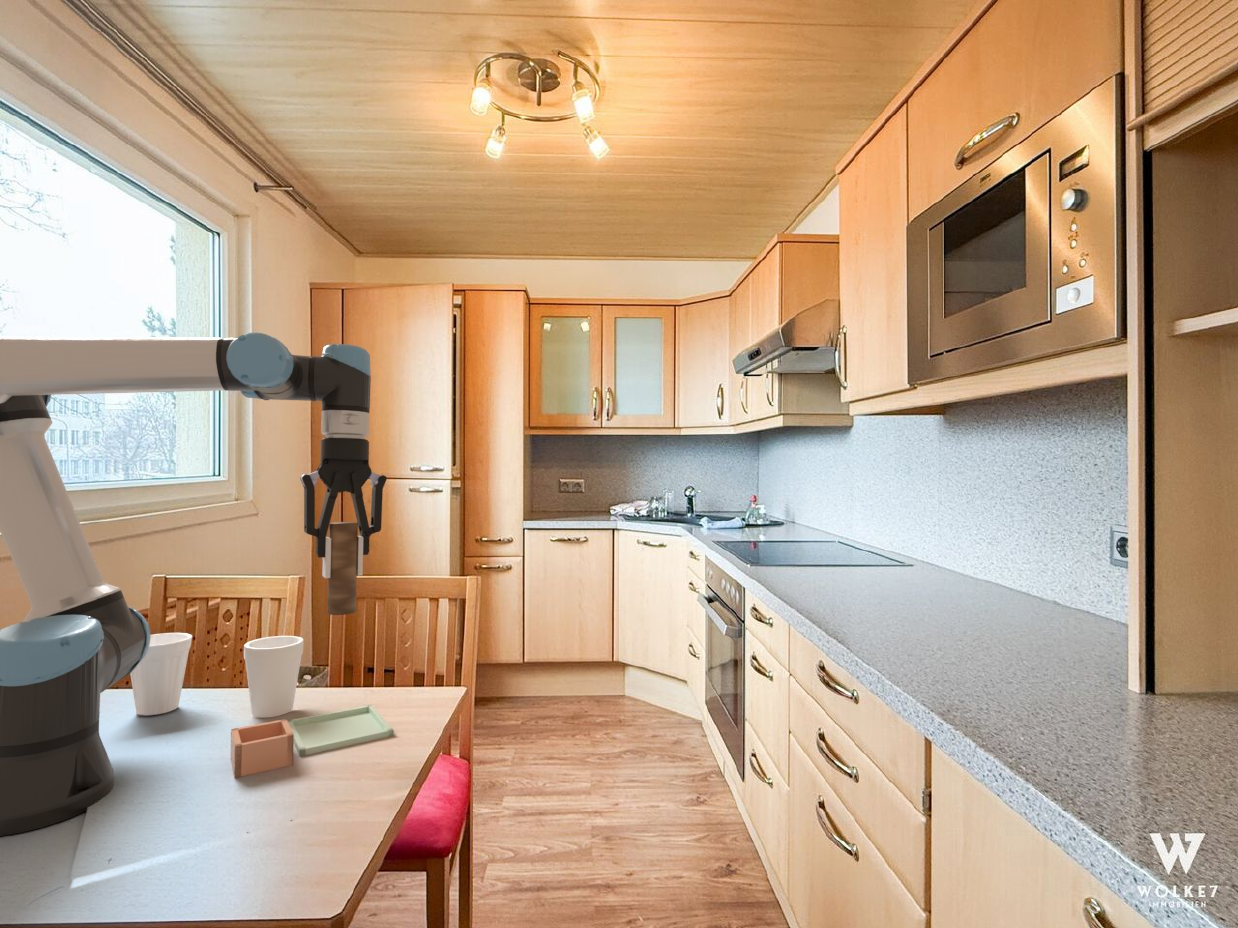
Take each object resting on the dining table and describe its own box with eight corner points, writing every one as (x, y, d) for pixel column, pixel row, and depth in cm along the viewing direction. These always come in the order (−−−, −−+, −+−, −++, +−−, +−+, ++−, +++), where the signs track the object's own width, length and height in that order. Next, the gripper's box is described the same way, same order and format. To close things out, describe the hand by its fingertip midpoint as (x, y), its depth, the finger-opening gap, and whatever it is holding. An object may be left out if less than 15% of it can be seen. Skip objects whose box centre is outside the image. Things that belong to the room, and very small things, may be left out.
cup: (164, 722, 110) (167, 646, 110) (108, 721, 110) (110, 645, 111) (203, 701, 120) (205, 632, 120) (151, 700, 120) (153, 631, 121)
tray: (299, 759, 96) (299, 749, 96) (286, 729, 108) (286, 720, 108) (393, 738, 104) (393, 729, 104) (371, 712, 116) (371, 704, 116)
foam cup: (275, 726, 109) (277, 650, 109) (229, 721, 111) (231, 647, 111) (312, 707, 118) (314, 637, 118) (269, 703, 120) (271, 634, 120)
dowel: (330, 616, 103) (332, 524, 104) (325, 611, 107) (327, 522, 107) (358, 613, 106) (360, 523, 106) (352, 608, 109) (354, 521, 110)
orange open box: (234, 782, 89) (235, 746, 89) (230, 762, 95) (231, 729, 95) (292, 768, 93) (293, 734, 93) (285, 750, 99) (286, 718, 99)
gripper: (291, 434, 99) (288, 583, 98) (404, 438, 109) (401, 574, 108) (284, 436, 105) (281, 576, 105) (391, 440, 115) (389, 569, 115)
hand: (342, 575), depth 107 cm, fingers closed on dowel, 4 cm apart
